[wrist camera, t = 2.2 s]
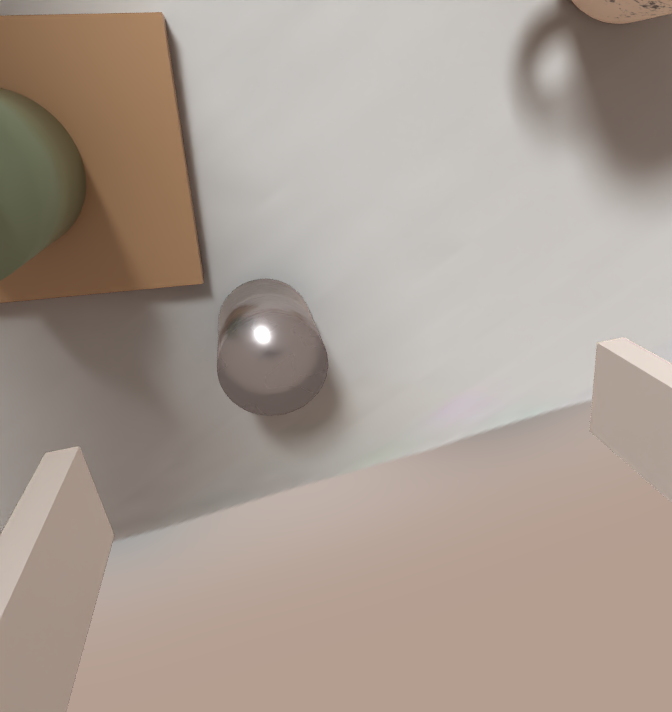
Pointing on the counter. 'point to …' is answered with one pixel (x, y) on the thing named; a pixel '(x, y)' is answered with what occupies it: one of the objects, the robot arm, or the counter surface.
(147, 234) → the brown board with cylinder
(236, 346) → the cap
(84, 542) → the robot arm
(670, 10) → the teacup with lid
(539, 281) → the counter surface
